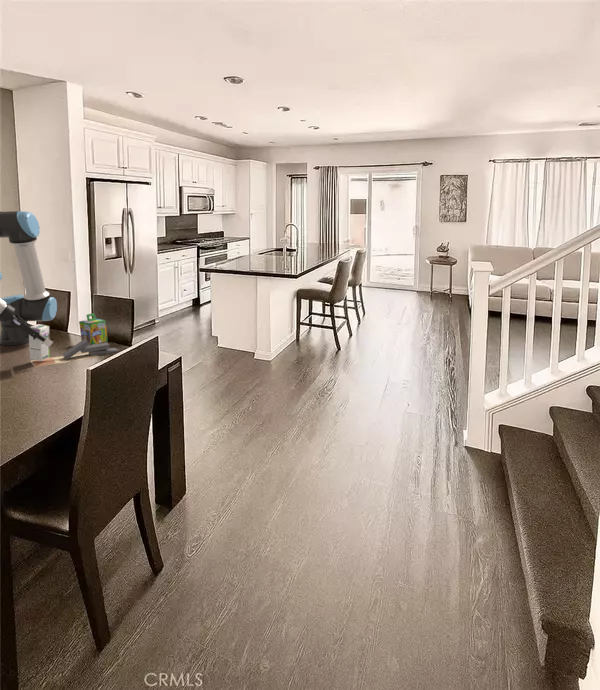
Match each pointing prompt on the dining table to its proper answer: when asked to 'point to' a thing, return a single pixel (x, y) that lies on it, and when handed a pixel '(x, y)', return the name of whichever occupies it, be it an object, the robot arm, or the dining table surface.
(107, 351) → the domino
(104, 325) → the chalk box
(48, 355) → the syrup box
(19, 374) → the dining table surface
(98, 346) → the domino
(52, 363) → the birch board
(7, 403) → the dining table surface
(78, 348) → the domino
